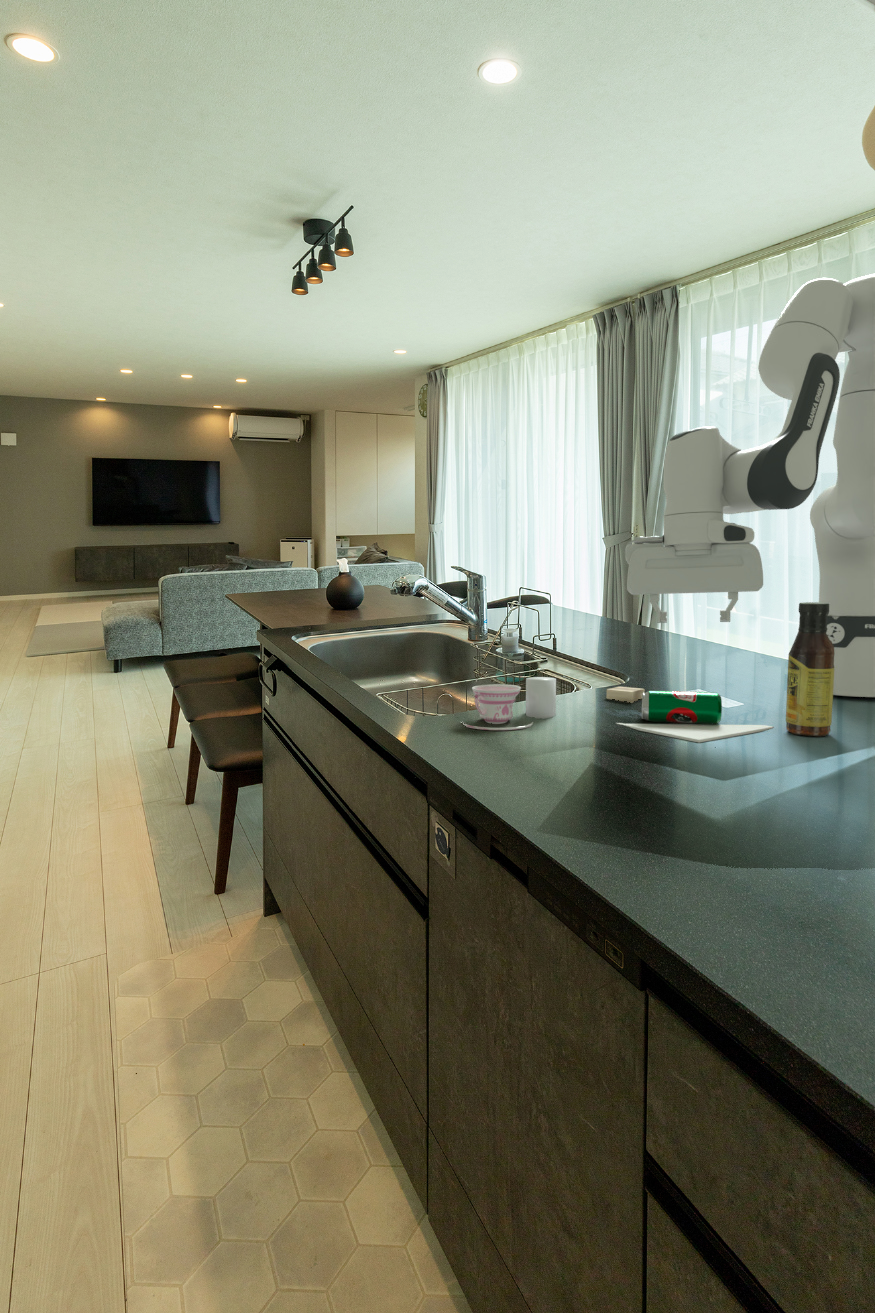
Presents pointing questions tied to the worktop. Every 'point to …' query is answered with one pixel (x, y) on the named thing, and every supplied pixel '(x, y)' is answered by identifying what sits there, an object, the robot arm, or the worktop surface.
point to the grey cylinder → (541, 697)
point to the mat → (698, 730)
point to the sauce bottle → (810, 674)
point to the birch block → (625, 694)
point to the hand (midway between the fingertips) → (693, 622)
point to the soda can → (682, 707)
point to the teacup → (496, 704)
